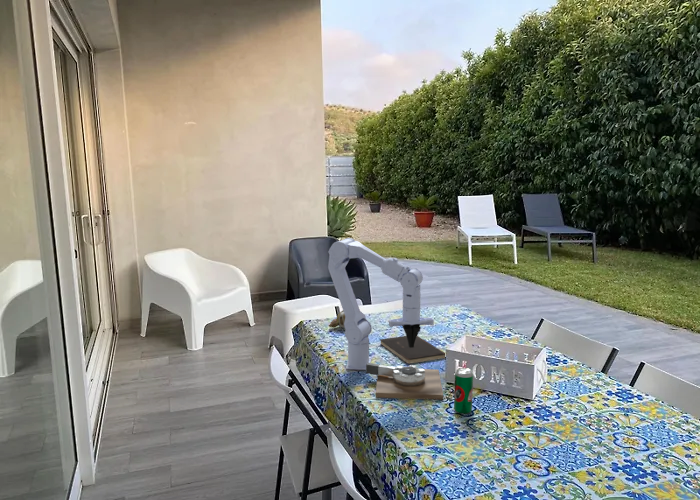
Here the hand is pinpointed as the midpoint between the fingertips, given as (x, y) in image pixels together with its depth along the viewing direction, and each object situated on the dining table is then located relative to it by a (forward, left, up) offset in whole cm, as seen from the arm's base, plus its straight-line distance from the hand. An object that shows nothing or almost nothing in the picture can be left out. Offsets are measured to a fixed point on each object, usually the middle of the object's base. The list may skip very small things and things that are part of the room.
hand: (411, 346), depth 185 cm
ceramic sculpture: (-50, -26, -10) cm, 57 cm away
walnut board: (+9, -1, -10) cm, 13 cm away
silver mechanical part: (+8, -5, -8) cm, 12 cm away
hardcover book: (-23, +1, -10) cm, 25 cm away
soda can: (+26, +14, -10) cm, 31 cm away
